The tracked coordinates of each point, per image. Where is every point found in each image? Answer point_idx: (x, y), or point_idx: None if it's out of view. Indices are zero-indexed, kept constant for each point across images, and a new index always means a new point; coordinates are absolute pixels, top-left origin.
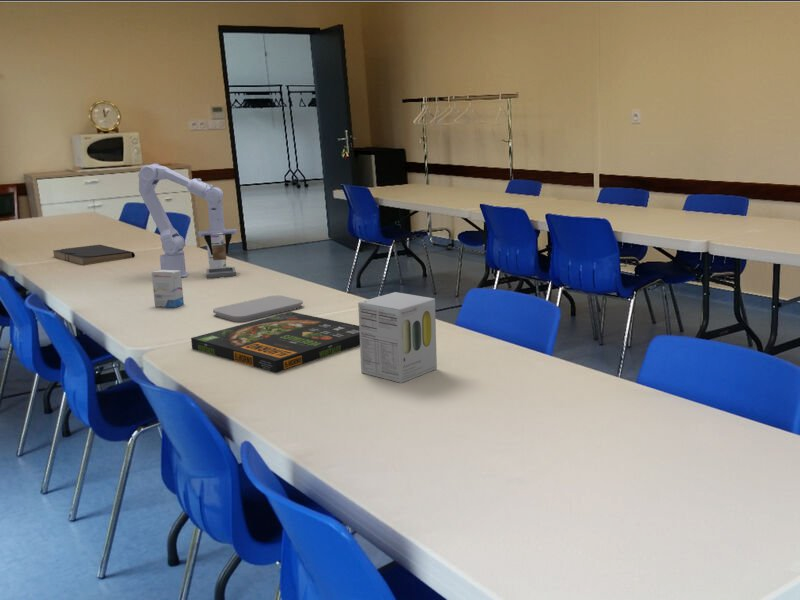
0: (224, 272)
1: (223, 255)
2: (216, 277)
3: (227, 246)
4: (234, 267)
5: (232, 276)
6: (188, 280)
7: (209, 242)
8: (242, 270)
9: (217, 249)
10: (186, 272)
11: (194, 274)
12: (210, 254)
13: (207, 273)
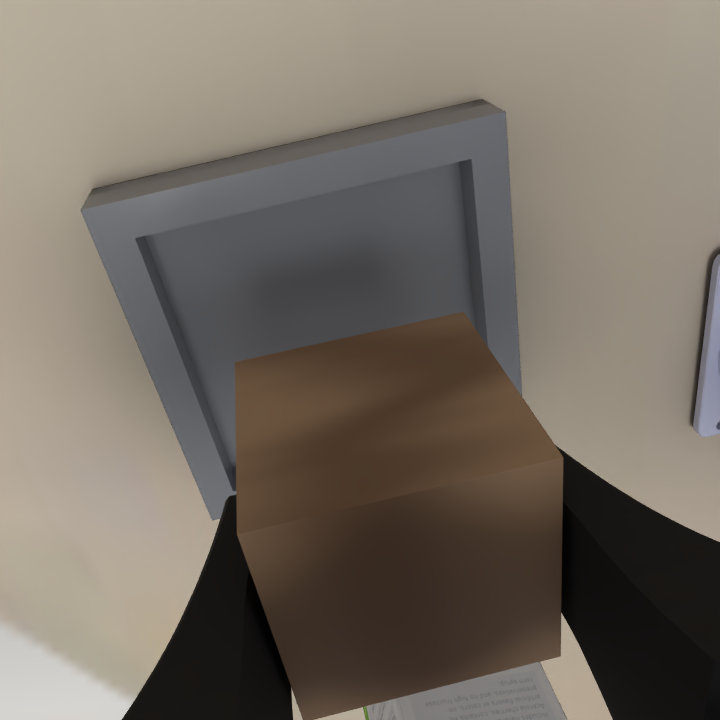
0: (256, 196)
1: (286, 393)
2: (360, 128)
3: (212, 600)
4: (203, 492)
5: (143, 179)
6: (714, 36)
7: (685, 571)
8: (139, 522)
9: (424, 448)
10: (707, 416)
11: (626, 381)
12: (526, 693)
13: (496, 165)
